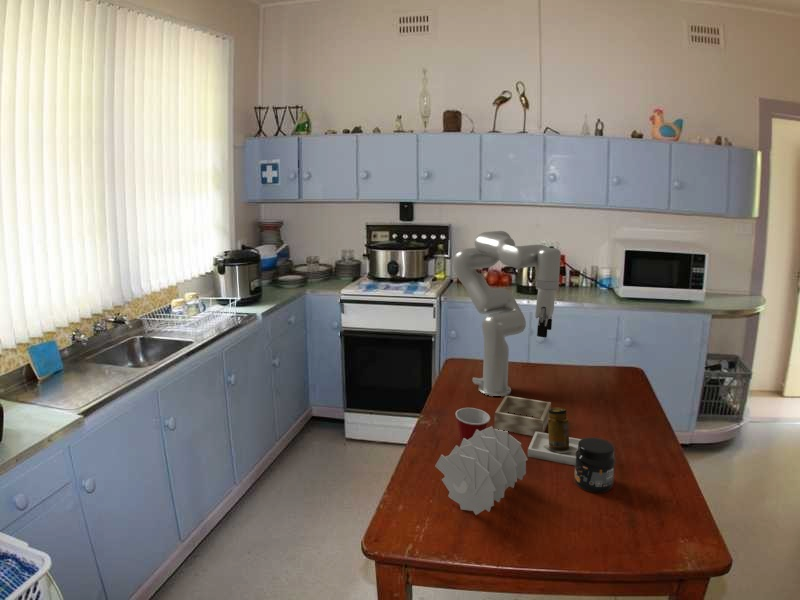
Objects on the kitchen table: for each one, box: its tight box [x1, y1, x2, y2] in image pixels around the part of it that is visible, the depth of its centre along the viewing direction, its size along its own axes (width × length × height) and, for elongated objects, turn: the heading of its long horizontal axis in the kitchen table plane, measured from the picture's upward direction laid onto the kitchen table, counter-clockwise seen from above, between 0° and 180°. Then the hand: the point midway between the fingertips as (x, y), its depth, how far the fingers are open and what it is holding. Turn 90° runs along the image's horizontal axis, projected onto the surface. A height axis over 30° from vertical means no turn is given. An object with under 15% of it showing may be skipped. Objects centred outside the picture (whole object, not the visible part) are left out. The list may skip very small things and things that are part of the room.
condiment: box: [544, 407, 578, 453], centre depth 181 cm, size 7×8×12 cm
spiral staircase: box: [434, 425, 528, 516], centre depth 157 cm, size 18×18×25 cm
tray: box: [527, 432, 581, 467], centre depth 182 cm, size 18×13×2 cm
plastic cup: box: [455, 407, 491, 444], centre depth 183 cm, size 11×11×12 cm
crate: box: [493, 395, 552, 437], centre depth 202 cm, size 16×16×6 cm
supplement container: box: [573, 437, 616, 494], centre depth 163 cm, size 10×10×12 cm
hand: (544, 333), depth 203 cm, fingers open, 9 cm apart
